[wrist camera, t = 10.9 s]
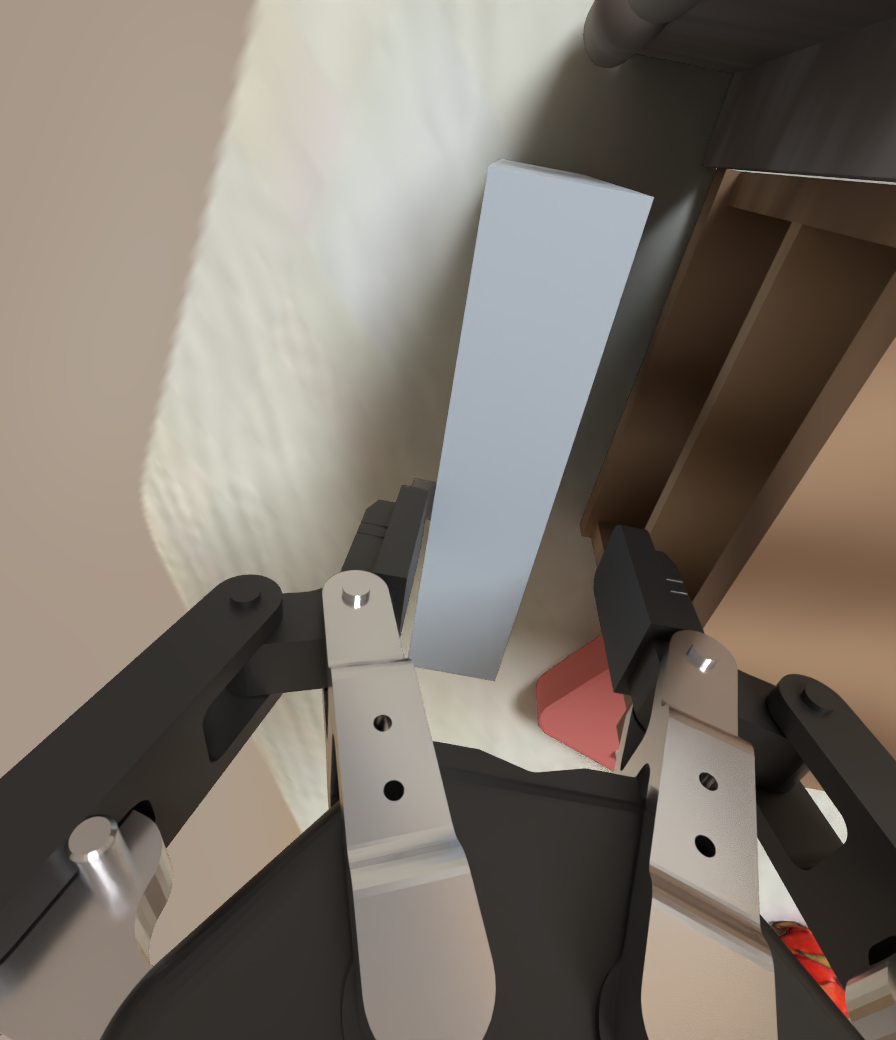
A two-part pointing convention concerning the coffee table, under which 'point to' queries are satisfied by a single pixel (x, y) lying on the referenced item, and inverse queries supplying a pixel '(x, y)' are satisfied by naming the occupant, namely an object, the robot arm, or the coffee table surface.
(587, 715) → the plaque
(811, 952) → the dragon fruit
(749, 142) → the cabinet
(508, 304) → the door
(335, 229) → the coffee table surface
